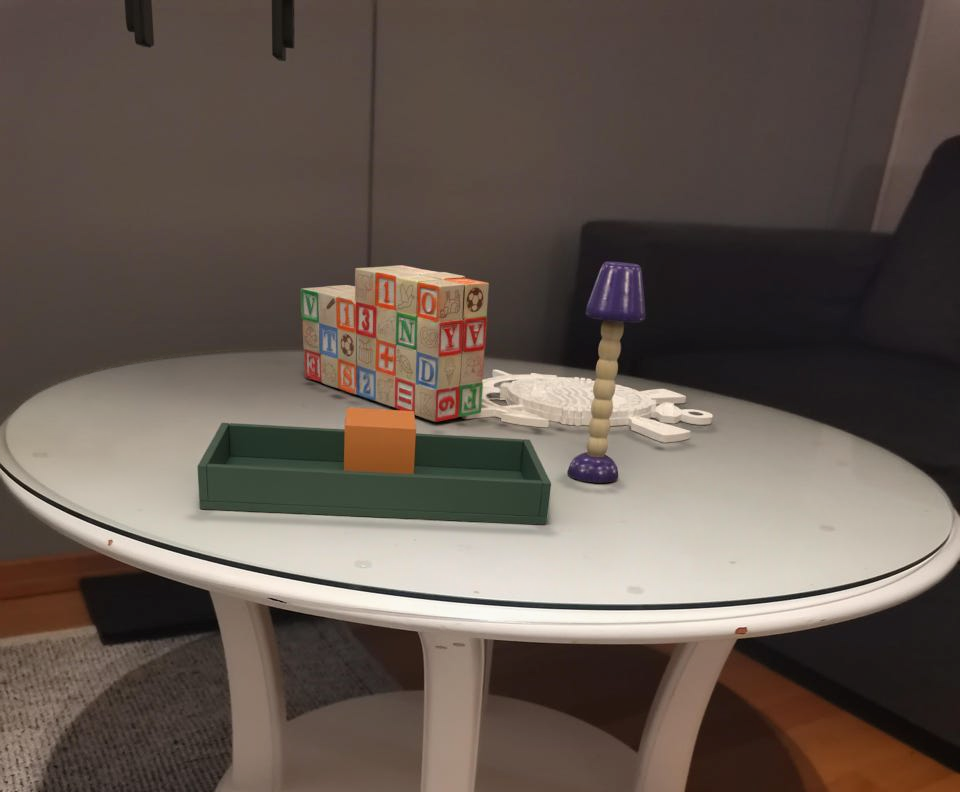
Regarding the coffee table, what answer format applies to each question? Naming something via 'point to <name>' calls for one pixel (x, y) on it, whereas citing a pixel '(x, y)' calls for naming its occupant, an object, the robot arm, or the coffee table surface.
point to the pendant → (584, 405)
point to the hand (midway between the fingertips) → (212, 52)
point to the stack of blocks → (400, 339)
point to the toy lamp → (608, 361)
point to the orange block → (379, 440)
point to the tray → (372, 477)
